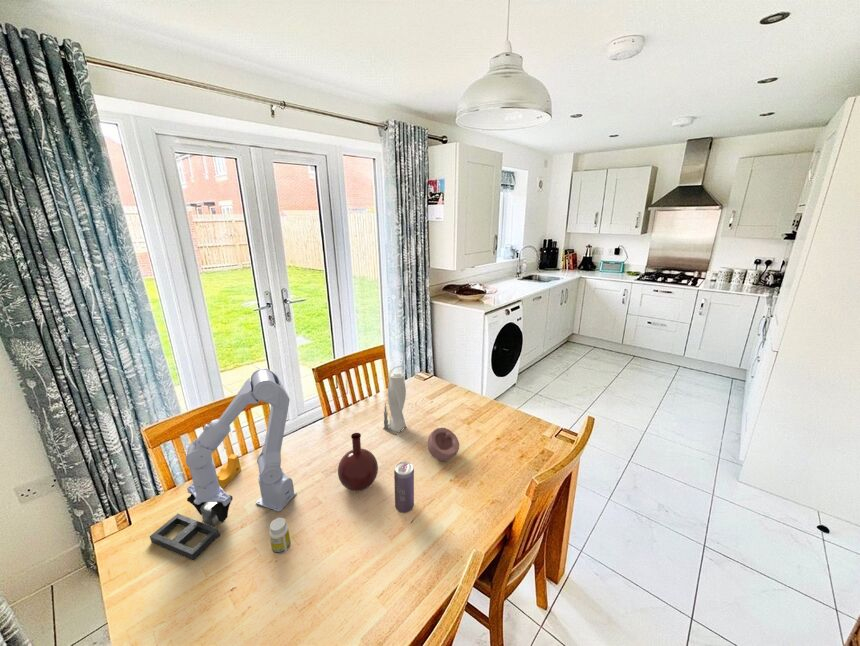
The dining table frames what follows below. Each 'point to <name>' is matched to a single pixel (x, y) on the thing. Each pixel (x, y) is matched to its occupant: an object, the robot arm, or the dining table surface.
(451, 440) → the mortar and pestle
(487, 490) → the dining table surface
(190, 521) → the dark grey flat frame
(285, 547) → the supplement bottle
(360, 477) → the round-bottom flask
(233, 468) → the pipe clamp
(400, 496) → the beverage can
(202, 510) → the block
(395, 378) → the skyscraper
